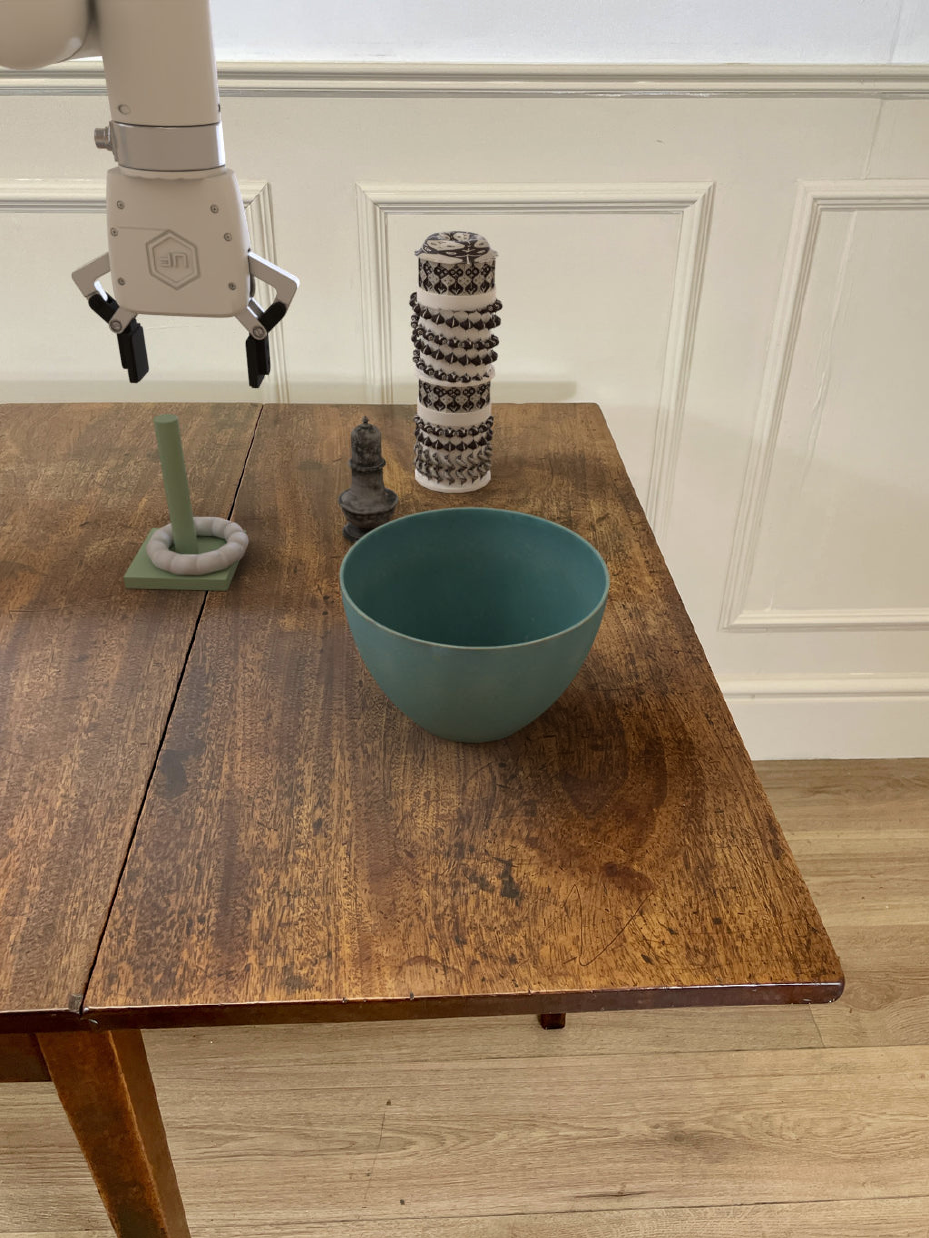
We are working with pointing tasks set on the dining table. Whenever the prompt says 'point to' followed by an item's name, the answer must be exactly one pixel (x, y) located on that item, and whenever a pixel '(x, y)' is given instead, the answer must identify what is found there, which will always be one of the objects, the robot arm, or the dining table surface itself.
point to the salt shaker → (366, 485)
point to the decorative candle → (454, 360)
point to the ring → (200, 562)
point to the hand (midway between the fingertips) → (198, 380)
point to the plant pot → (473, 616)
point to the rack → (177, 523)
